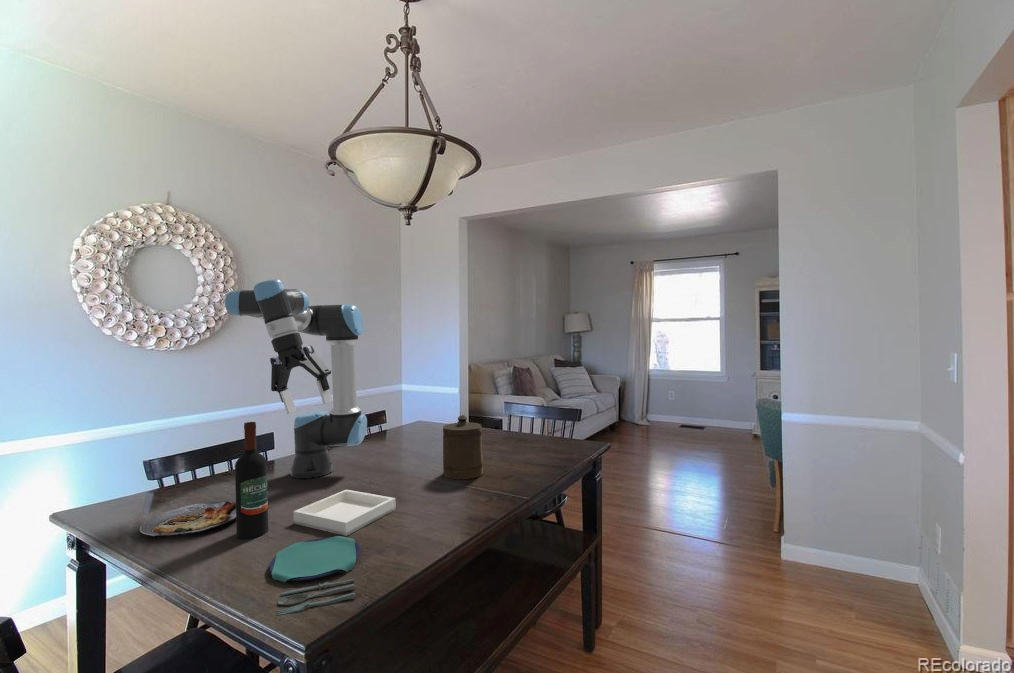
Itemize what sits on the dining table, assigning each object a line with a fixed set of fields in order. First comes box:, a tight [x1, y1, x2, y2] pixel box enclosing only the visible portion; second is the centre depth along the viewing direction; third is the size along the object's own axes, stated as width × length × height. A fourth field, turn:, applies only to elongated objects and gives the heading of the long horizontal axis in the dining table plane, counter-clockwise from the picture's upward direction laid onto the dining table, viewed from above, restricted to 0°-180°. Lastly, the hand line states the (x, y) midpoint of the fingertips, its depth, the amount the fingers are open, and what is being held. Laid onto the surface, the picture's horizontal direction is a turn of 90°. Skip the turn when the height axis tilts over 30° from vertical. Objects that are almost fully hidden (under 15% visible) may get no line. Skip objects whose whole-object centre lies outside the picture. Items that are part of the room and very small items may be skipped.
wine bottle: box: [234, 421, 269, 540], centre depth 127 cm, size 8×8×30 cm
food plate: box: [139, 500, 236, 537], centre depth 136 cm, size 25×23×4 cm
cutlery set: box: [269, 535, 361, 617], centre depth 106 cm, size 20×30×2 cm, turn 20°
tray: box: [292, 489, 397, 537], centre depth 138 cm, size 20×20×4 cm
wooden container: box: [442, 414, 484, 480], centre depth 177 cm, size 15×15×22 cm
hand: (309, 407), depth 132 cm, fingers open, 13 cm apart
